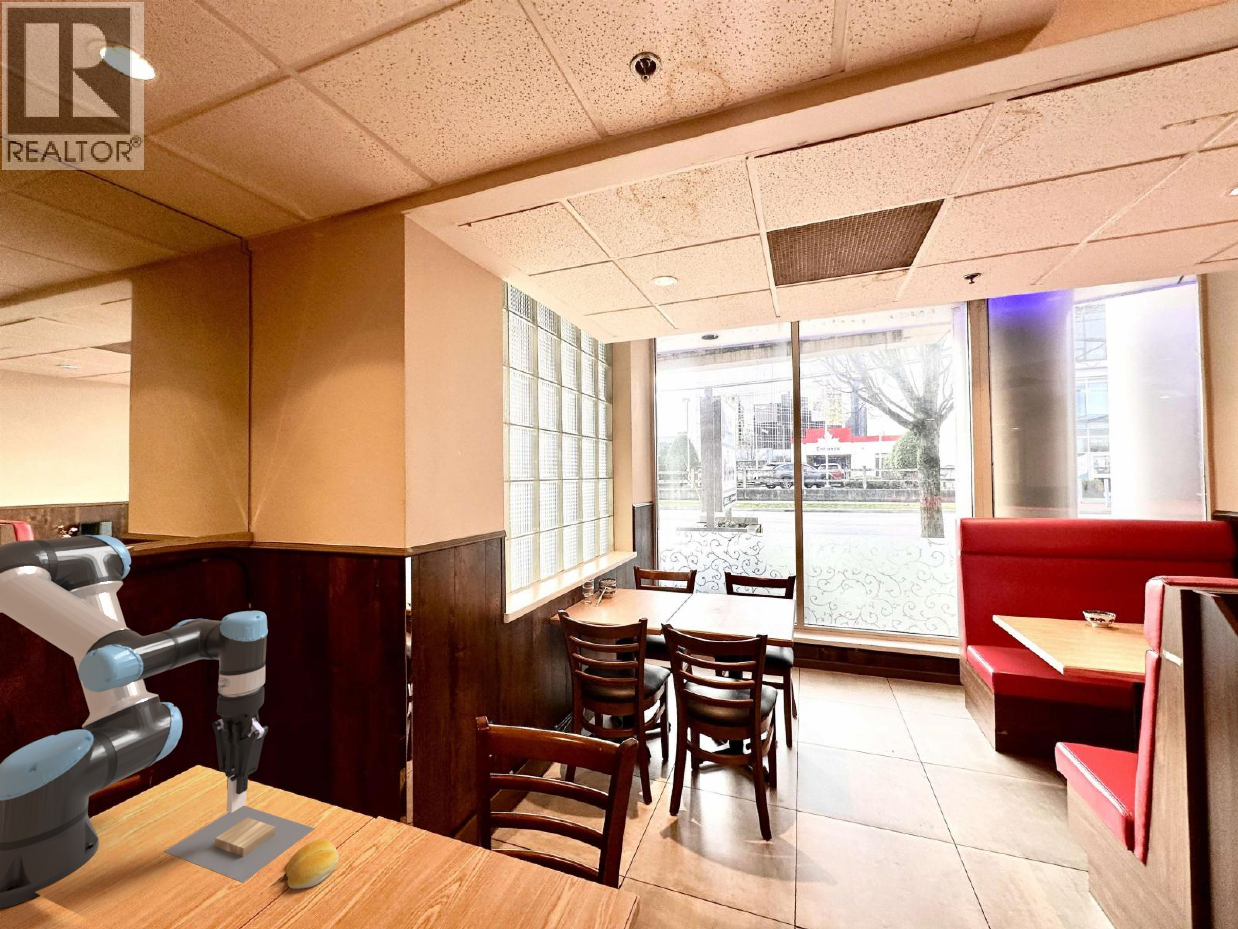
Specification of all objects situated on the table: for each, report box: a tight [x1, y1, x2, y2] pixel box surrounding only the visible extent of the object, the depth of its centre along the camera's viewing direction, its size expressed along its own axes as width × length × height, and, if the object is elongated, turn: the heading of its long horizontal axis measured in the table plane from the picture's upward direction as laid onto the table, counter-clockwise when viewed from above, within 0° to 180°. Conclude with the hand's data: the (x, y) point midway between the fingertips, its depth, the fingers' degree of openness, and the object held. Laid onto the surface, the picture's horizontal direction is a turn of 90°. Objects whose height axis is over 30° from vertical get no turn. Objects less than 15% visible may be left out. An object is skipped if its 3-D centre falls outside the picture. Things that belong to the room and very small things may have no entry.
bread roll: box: [285, 839, 340, 890], centre depth 88 cm, size 8×9×4 cm
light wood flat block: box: [215, 818, 275, 857], centre depth 94 cm, size 2×6×8 cm
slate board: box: [163, 805, 316, 883], centre depth 94 cm, size 22×14×1 cm, turn 72°
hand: (236, 807), depth 95 cm, fingers closed
